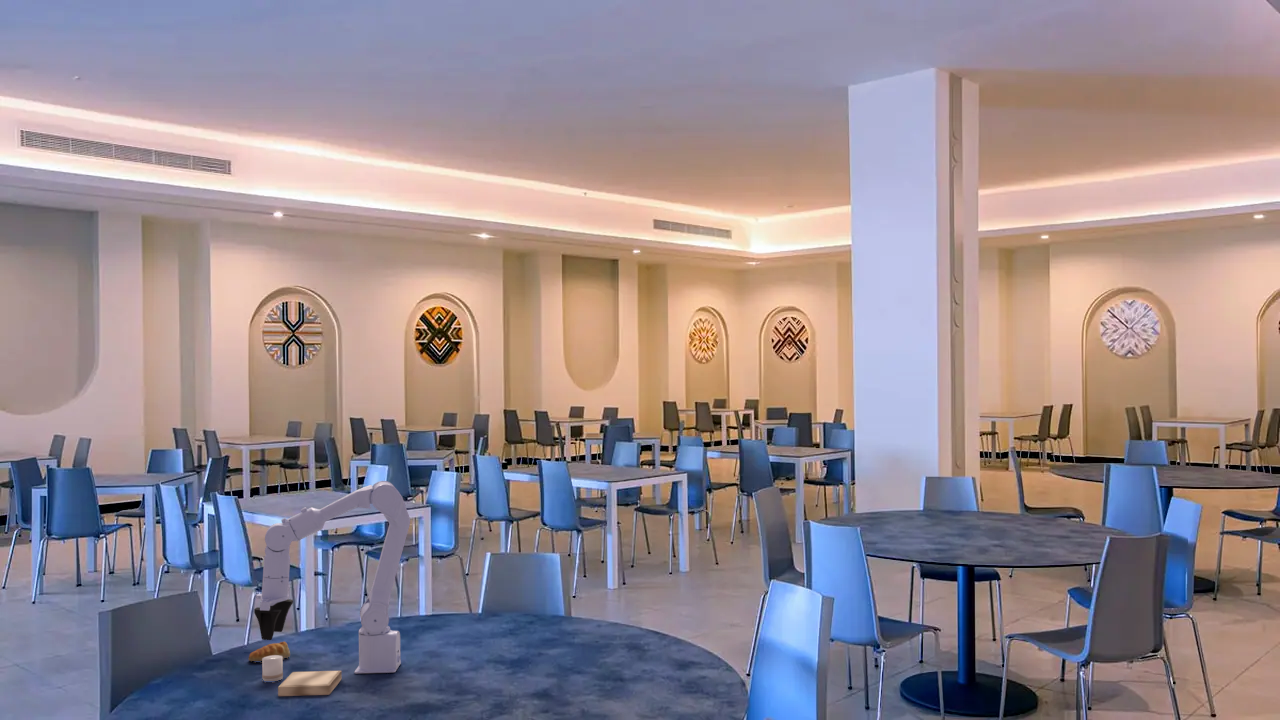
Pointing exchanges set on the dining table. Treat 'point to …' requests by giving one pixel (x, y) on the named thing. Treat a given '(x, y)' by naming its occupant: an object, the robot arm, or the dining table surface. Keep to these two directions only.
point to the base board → (310, 683)
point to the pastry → (270, 651)
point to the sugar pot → (272, 668)
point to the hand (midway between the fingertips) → (272, 635)
